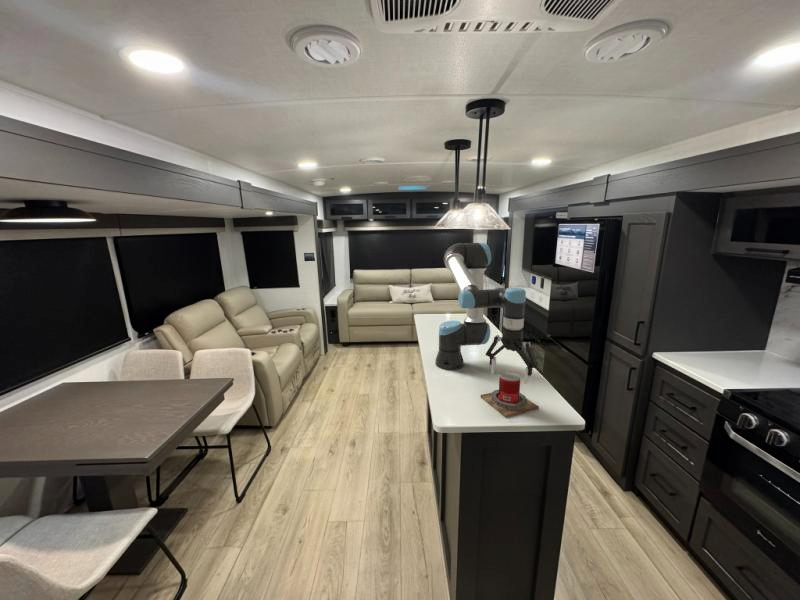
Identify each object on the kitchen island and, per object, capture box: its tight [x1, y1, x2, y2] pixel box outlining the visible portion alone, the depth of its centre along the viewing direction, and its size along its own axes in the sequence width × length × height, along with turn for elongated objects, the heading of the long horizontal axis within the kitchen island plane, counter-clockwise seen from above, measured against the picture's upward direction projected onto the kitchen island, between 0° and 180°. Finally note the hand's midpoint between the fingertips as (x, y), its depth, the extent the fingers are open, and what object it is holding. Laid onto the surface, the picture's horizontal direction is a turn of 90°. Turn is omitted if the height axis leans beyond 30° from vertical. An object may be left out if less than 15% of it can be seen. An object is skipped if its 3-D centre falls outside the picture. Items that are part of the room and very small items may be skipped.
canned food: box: [498, 371, 521, 404], centre depth 123 cm, size 8×8×11 cm
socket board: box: [480, 388, 540, 419], centre depth 123 cm, size 16×16×3 cm
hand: (509, 377), depth 122 cm, fingers open, 13 cm apart
